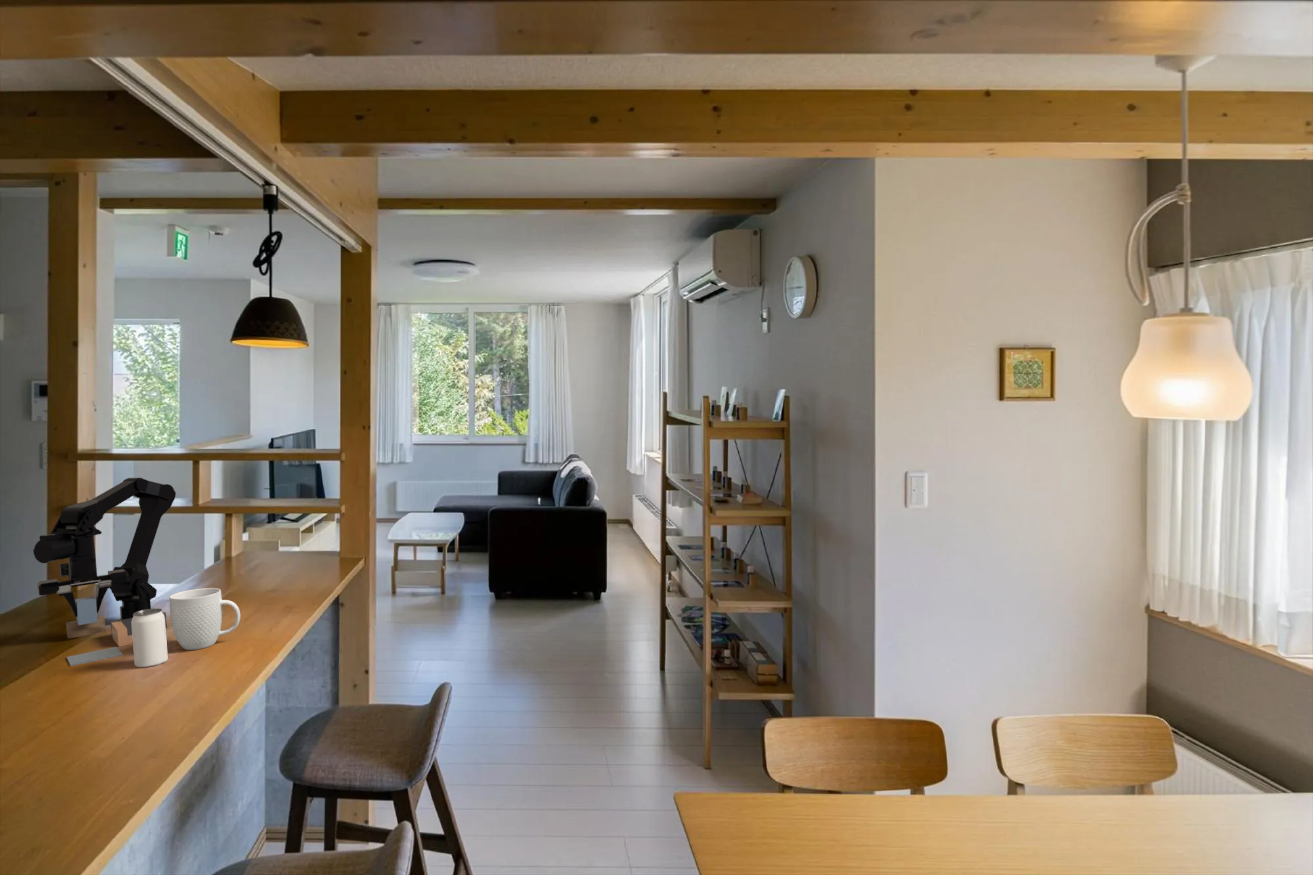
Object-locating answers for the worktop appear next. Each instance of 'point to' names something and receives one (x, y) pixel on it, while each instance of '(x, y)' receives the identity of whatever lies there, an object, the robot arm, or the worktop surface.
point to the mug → (199, 617)
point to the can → (149, 638)
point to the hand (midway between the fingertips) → (86, 614)
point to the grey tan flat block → (124, 630)
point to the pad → (94, 656)
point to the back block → (85, 628)
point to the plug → (86, 610)
